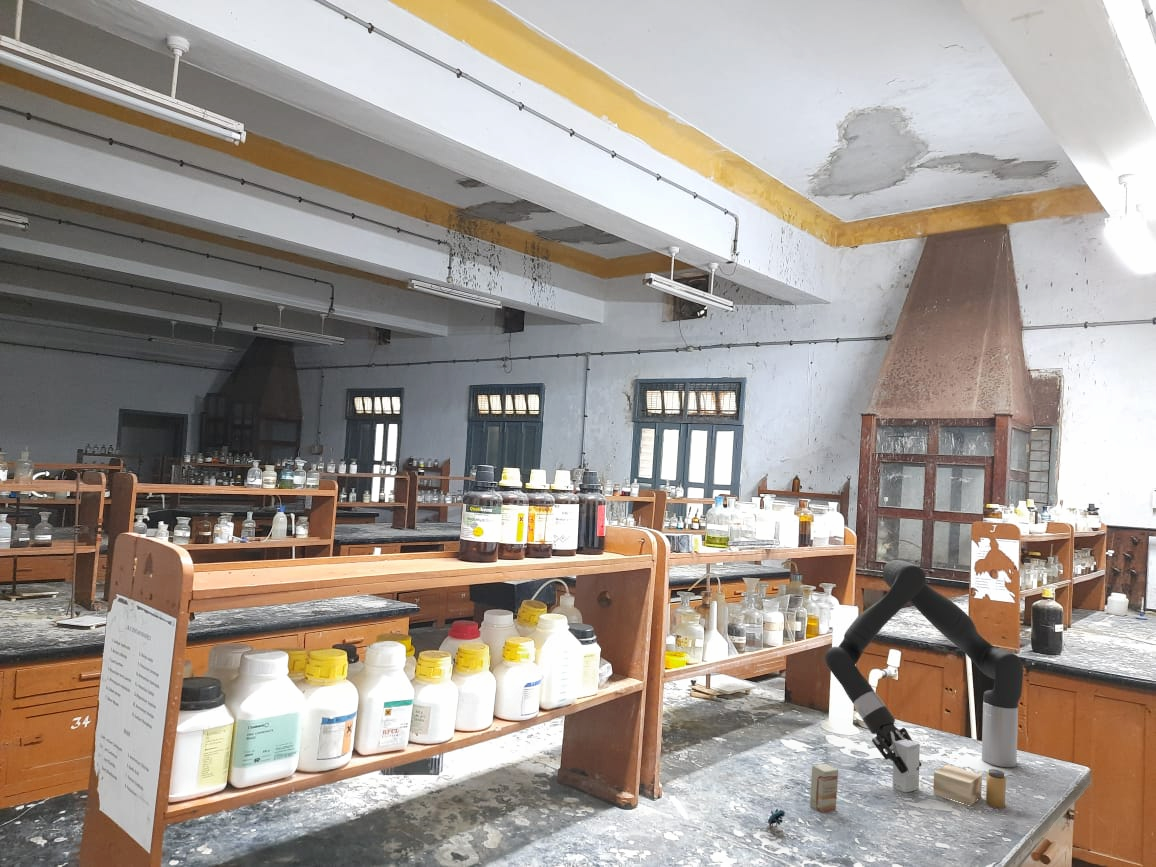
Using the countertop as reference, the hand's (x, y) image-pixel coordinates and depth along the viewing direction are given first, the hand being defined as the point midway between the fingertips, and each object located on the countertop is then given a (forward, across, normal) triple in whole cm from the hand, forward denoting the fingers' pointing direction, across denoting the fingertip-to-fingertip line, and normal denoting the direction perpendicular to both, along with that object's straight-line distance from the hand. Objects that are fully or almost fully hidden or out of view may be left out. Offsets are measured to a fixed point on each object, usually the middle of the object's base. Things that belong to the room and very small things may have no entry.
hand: (912, 769), depth 205 cm
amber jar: (+16, +12, -8) cm, 21 cm away
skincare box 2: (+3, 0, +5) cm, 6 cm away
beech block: (+10, +8, -2) cm, 13 cm away
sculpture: (+2, -52, +7) cm, 53 cm away
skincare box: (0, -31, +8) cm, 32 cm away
